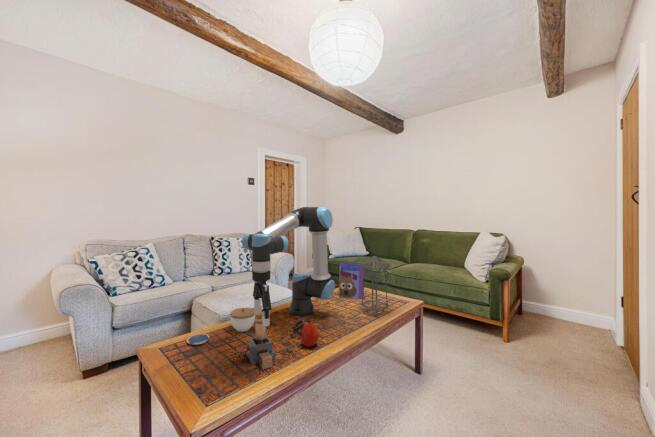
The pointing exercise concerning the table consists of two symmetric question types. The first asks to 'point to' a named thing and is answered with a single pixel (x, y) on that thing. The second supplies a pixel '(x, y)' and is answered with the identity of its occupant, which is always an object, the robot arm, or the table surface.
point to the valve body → (259, 353)
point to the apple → (309, 334)
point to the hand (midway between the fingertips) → (261, 319)
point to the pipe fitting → (260, 330)
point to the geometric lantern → (375, 281)
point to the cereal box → (351, 281)
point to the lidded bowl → (242, 319)
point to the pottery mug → (296, 330)
